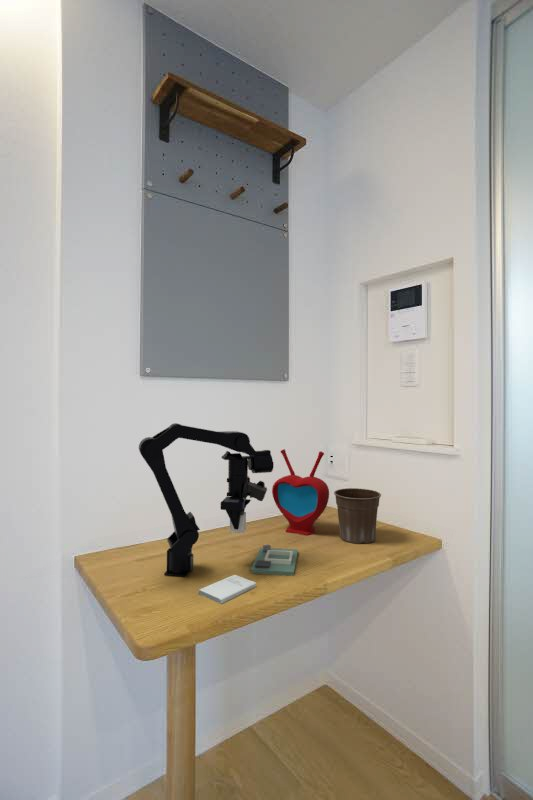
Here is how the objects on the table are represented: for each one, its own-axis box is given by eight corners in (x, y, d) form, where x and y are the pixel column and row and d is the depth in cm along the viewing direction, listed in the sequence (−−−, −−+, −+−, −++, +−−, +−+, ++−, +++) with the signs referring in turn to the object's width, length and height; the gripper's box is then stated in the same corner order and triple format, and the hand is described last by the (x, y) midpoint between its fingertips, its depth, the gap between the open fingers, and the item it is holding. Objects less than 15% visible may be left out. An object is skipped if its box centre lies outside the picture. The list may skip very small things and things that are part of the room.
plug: (229, 532, 120) (230, 513, 120) (232, 528, 124) (232, 509, 124) (243, 533, 119) (243, 513, 119) (245, 528, 123) (246, 510, 123)
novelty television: (269, 530, 154) (269, 450, 154) (283, 522, 165) (284, 447, 166) (321, 539, 144) (321, 453, 145) (333, 529, 156) (333, 450, 156)
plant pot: (373, 549, 134) (373, 500, 134) (327, 541, 142) (327, 494, 142) (386, 536, 148) (386, 491, 148) (343, 529, 156) (343, 486, 156)
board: (250, 573, 115) (250, 563, 115) (260, 550, 133) (260, 542, 133) (293, 575, 113) (293, 566, 113) (297, 552, 131) (297, 544, 131)
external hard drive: (198, 595, 102) (233, 579, 112) (221, 606, 97) (256, 588, 106) (198, 589, 102) (233, 573, 112) (221, 599, 97) (256, 582, 106)
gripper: (260, 480, 111) (260, 538, 111) (269, 469, 130) (269, 519, 130) (220, 479, 113) (219, 536, 113) (234, 469, 131) (234, 518, 131)
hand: (237, 527), depth 122 cm, fingers closed on plug, 4 cm apart
